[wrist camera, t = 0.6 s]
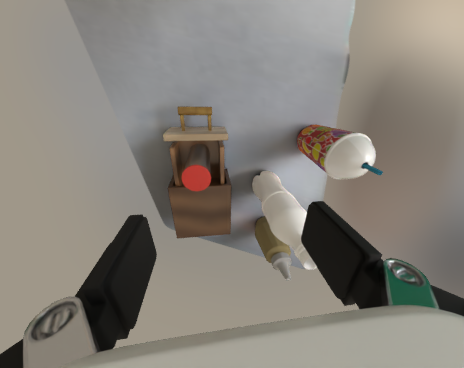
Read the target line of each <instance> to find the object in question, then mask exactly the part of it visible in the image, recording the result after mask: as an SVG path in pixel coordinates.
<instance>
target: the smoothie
mask: <svg viewBox="0 0 464 368" xmlns="http://www.w3.org/2000/svg"><path fill="white" fill-rule="evenodd" d="M297 145H298V148H299V150H300V151H301V152H302V153H304V154H305V155H306V156H307V157H308V158H310V159H311V160H312V161H313V162H314V163H315V164H317V165H318V166H319V167H320V168H321V169H323V170H324V171H325V172H326V173H327V174H328V175H329V176H331V177H332V178H335V179H353V178H357V177H360V176H362V175H363V174H365V173H366V172H367V171H372V172H374V173H376V174H378V175H381V174H382V173H383V172H382V171H380V170H378V169H376V168H374V167H372V166H373V165H374V162H375V158H376V152H375V149H374V146H373V144H372V143H371V140H370V139H369V138H368V137H367V136H366V135H364V134H361V133H354V132H350V131H344V130H340V129H335V128H330V127H325V126H320V125H310V126H308V127H306V128H304V129H303V130H302V131H301V132H300V133H299V135H298V138H297Z"/></svg>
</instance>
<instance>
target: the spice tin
mask: <svg viewBox="0 0 464 368" xmlns="http://www.w3.org/2000/svg"><path fill="white" fill-rule="evenodd" d="M182 182H183V184H184V186H185V187H186V188H188V189H190V190H192V191H202V190H204V189H206V188H207V187H208V186H209V185H210V182H211V174H210V152H209V149H208V148H207V147H206V146H205V145H203V144H195V145H193V146H192V147H191V149H190V151H189V155H188V158H187V162H186V165H185V169H184V171H183V173H182Z"/></svg>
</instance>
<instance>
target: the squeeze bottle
mask: <svg viewBox="0 0 464 368" xmlns="http://www.w3.org/2000/svg"><path fill="white" fill-rule="evenodd" d="M255 236H256V239H257V241H258V243H259V245H260V247H261V249H262V252H263V254H264V256H265V258H266V260H267V261H268V262H269V263H272V266H273V268H274V269H276V270H280V272H281V273H282V275H283V276H284V278H285V279H286V280H287V281H289V280H291V275H290V271H289V266H290V265H291V263H292V261H291V259H290V257H289V256H290V254H291V251H290V248H289V245H287V244H285V243H283V242H282V241H280V240H279V239H278V238H277V237H276V236H275V235H274V234H273V233H272V231H271V229H270V225H269V223H268V221H267V219H266V217H265V216H264V217H261V218H260V219H258V221H257V222H256V226H255Z"/></svg>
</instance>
